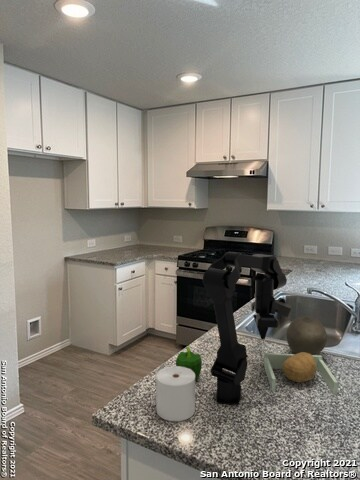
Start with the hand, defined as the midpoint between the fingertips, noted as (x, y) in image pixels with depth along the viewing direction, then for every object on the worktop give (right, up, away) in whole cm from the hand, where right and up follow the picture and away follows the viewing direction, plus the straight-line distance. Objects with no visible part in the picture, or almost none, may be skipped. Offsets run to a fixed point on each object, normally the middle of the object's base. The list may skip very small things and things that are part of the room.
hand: (262, 338), depth 113 cm
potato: (+11, -13, -2) cm, 17 cm away
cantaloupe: (+19, -11, +14) cm, 26 cm away
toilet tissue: (-29, -14, -19) cm, 37 cm away
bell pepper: (-24, -12, -2) cm, 28 cm away
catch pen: (+11, -12, -3) cm, 17 cm away
